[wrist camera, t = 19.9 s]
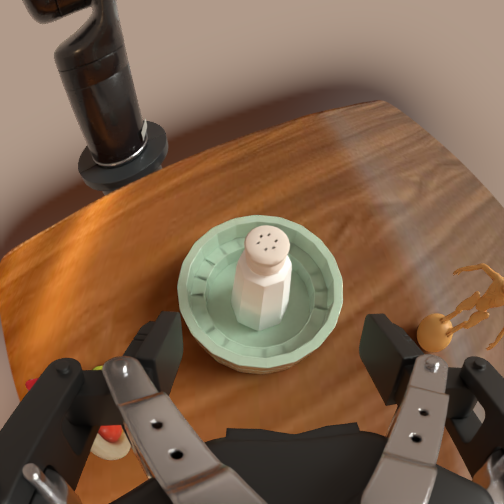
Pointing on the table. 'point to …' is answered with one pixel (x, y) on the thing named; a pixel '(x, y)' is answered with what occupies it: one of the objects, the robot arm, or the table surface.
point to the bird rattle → (105, 437)
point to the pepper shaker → (262, 279)
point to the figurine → (439, 326)
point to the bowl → (220, 291)
